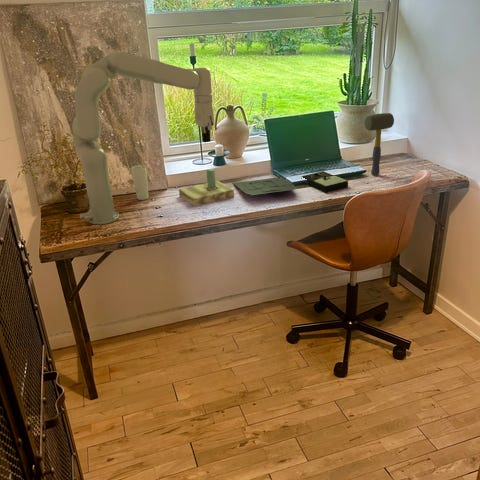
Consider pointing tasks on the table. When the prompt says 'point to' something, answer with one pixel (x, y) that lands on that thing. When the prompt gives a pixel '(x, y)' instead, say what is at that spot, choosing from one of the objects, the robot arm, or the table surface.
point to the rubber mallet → (378, 135)
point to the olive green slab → (205, 193)
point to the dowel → (211, 179)
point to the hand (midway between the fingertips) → (206, 141)
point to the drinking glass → (140, 181)
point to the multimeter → (325, 182)
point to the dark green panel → (265, 186)
